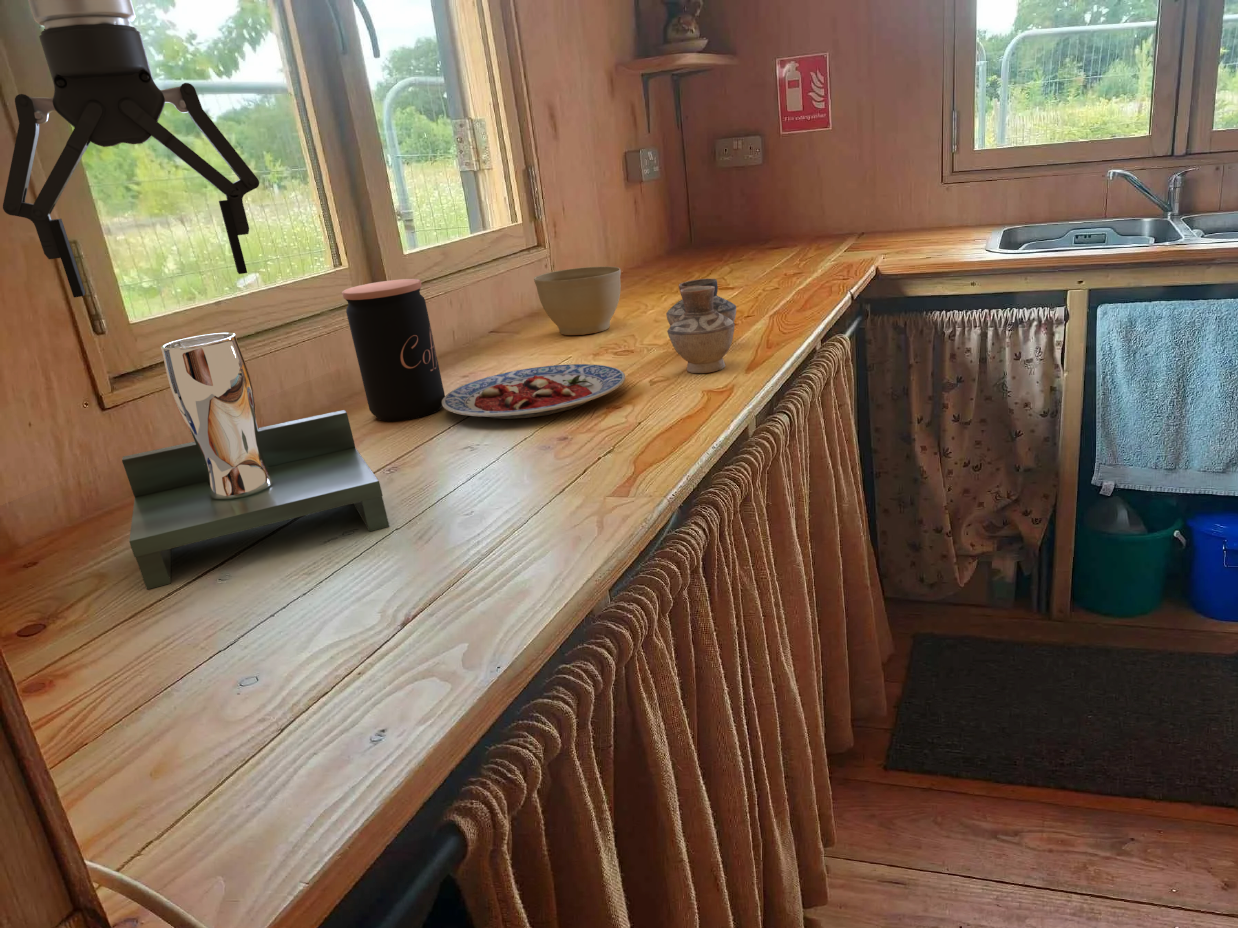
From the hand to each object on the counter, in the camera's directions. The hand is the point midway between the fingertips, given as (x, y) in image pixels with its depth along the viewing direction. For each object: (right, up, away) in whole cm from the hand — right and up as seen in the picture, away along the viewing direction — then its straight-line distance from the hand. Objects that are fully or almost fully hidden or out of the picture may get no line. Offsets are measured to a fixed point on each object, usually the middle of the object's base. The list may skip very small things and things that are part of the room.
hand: (163, 284), depth 89 cm
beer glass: (+4, -19, +8) cm, 21 cm away
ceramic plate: (+27, -5, +48) cm, 55 cm away
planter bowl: (+29, +14, +95) cm, 100 cm away
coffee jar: (+8, -6, +51) cm, 52 cm away
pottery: (+51, +3, +62) cm, 81 cm away
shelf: (+5, -23, +10) cm, 26 cm away
